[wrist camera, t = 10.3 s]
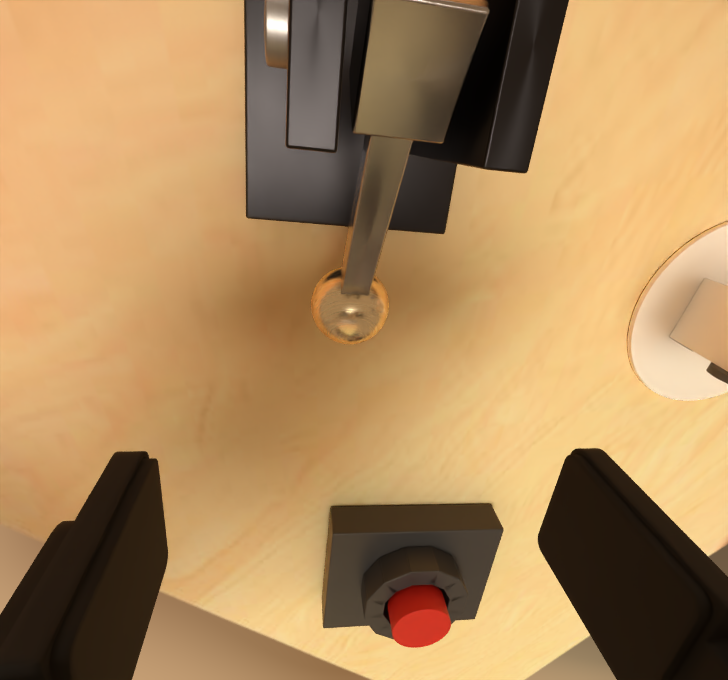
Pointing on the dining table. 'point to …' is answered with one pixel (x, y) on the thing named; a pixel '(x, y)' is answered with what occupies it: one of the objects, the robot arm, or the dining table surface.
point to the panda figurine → (685, 322)
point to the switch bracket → (344, 148)
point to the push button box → (406, 559)
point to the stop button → (418, 616)
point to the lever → (393, 136)
